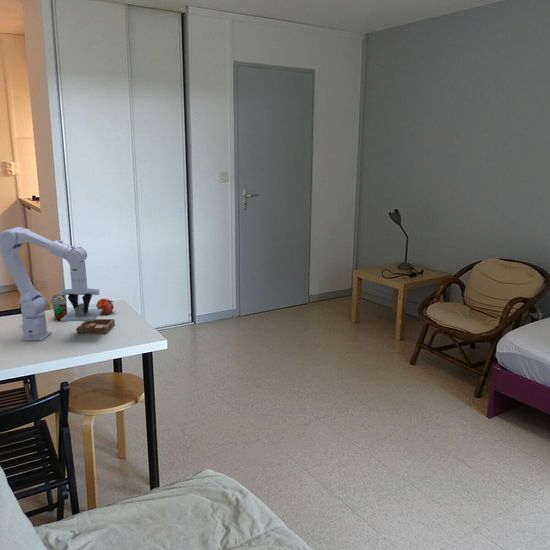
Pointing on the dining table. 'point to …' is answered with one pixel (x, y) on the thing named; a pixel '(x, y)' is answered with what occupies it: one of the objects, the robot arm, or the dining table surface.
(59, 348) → the dining table surface
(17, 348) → the dining table surface
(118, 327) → the dining table surface
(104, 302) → the pomegranate
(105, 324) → the wooden tray
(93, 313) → the lid
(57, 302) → the food container
